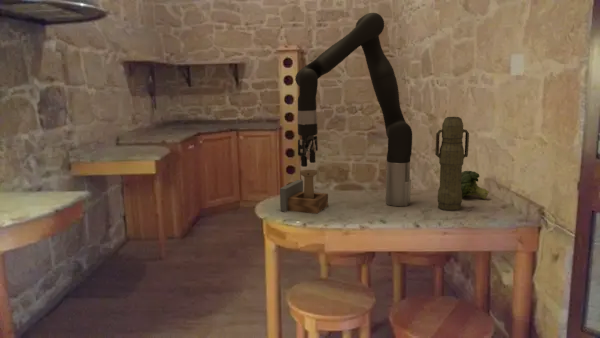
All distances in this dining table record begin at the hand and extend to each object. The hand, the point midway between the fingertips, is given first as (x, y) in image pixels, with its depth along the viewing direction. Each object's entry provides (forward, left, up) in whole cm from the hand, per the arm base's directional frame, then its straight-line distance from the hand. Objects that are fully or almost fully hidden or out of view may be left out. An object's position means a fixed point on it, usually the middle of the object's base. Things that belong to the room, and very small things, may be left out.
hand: (308, 164), depth 184 cm
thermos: (-51, -19, -18) cm, 57 cm away
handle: (0, 0, -18) cm, 18 cm away
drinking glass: (+9, -22, -18) cm, 30 cm away
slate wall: (+8, -1, -18) cm, 19 cm away
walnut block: (+1, 0, -18) cm, 18 cm away
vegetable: (-57, -39, -18) cm, 72 cm away
